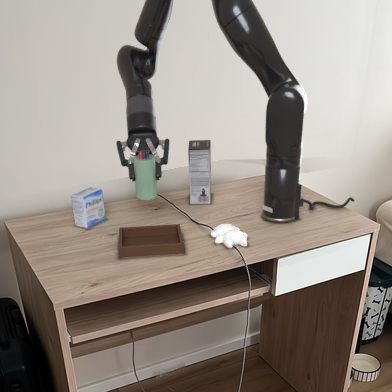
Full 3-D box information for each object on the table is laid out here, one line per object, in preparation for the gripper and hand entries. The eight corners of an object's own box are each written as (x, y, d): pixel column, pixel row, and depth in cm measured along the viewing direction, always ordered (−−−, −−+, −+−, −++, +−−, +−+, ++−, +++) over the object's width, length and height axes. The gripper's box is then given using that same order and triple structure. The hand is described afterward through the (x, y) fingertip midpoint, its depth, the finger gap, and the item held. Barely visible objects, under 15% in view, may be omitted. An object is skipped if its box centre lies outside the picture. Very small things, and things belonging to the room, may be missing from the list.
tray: (180, 234, 141) (179, 223, 140) (184, 254, 131) (183, 243, 129) (120, 237, 140) (119, 227, 139) (119, 258, 130) (118, 247, 128)
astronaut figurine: (218, 250, 133) (218, 238, 131) (207, 231, 142) (207, 220, 140) (253, 246, 134) (253, 235, 132) (240, 228, 144) (240, 217, 142)
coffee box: (190, 194, 167) (188, 139, 158) (211, 193, 167) (210, 139, 157) (189, 204, 159) (187, 148, 150) (211, 204, 159) (211, 147, 150)
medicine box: (87, 229, 145) (82, 197, 141) (75, 226, 147) (70, 194, 143) (106, 219, 151) (102, 188, 146) (94, 216, 153) (90, 186, 148)
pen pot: (157, 192, 144) (154, 146, 137) (158, 199, 140) (155, 152, 133) (136, 193, 144) (132, 147, 137) (136, 200, 139) (132, 153, 132)
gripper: (112, 111, 136) (116, 173, 134) (169, 109, 137) (174, 170, 135) (114, 128, 144) (118, 187, 141) (168, 126, 145) (173, 184, 142)
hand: (145, 179), depth 138 cm, fingers closed on pen pot, 5 cm apart
